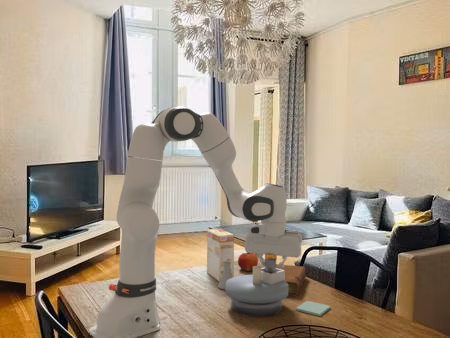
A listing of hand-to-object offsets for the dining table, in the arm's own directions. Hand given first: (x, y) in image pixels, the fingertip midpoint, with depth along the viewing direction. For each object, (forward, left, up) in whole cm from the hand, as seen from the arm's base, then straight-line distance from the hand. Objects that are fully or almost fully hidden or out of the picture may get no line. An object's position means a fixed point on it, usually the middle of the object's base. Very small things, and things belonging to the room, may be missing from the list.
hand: (272, 266), depth 159 cm
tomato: (+31, +31, -14) cm, 46 cm away
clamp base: (-6, +3, -13) cm, 15 cm away
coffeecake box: (+15, +35, -14) cm, 40 cm away
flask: (+5, +24, -14) cm, 28 cm away
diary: (+21, +9, -14) cm, 27 cm away
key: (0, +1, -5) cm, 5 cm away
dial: (-6, +3, -8) cm, 10 cm away
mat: (+4, -14, -13) cm, 20 cm away
